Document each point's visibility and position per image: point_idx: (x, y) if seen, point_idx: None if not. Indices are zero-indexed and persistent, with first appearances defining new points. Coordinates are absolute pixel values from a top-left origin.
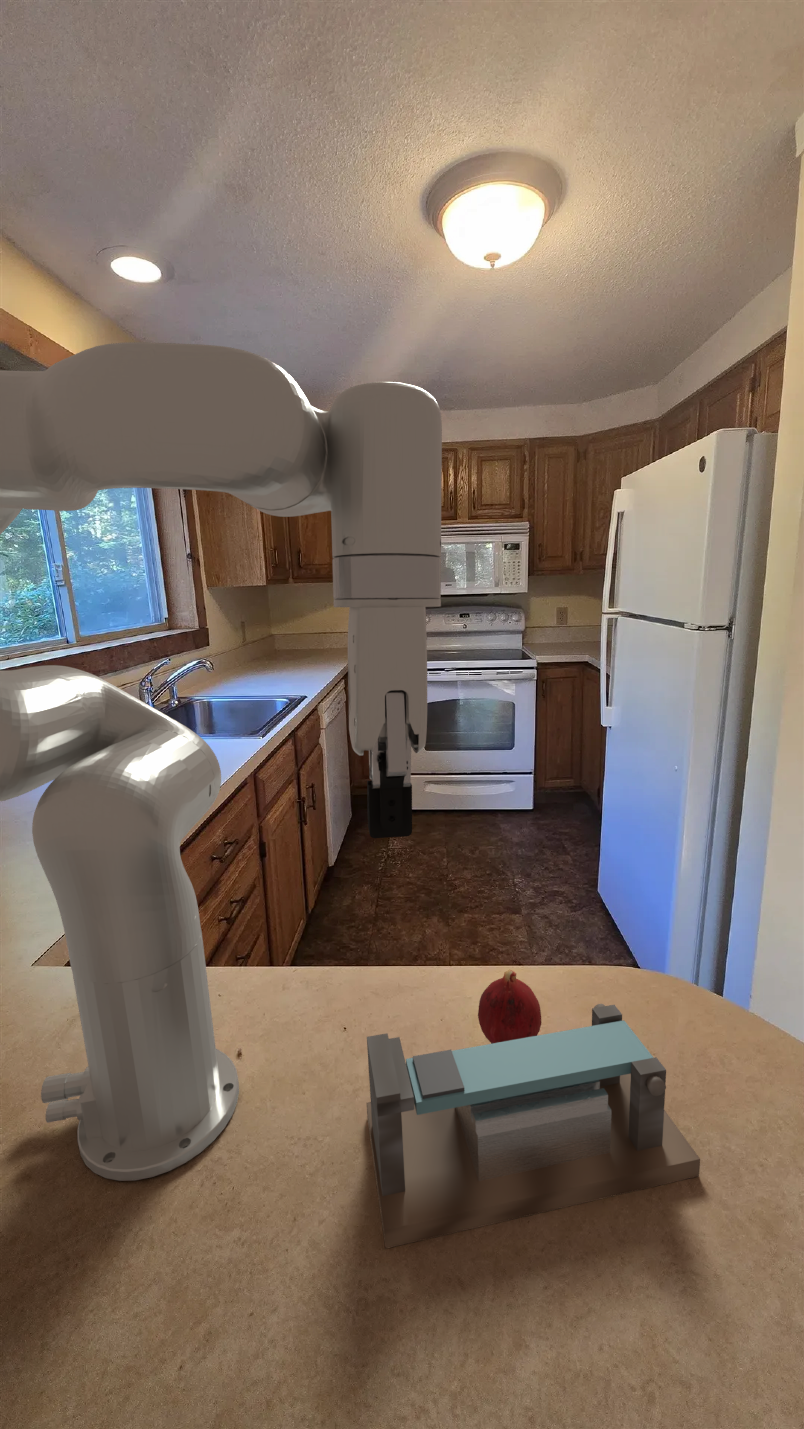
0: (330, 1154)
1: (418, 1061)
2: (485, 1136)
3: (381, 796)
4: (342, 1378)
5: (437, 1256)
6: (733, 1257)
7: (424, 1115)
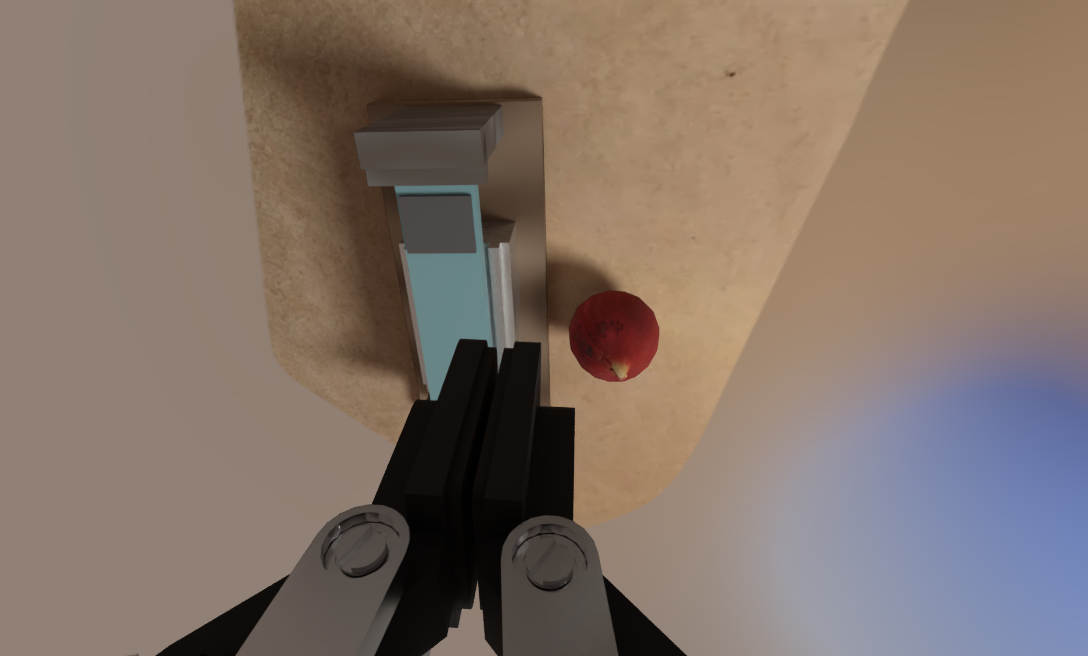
0: (495, 36)
1: (458, 202)
2: (400, 251)
3: (373, 502)
4: (263, 41)
5: None
6: (364, 391)
7: (506, 180)
